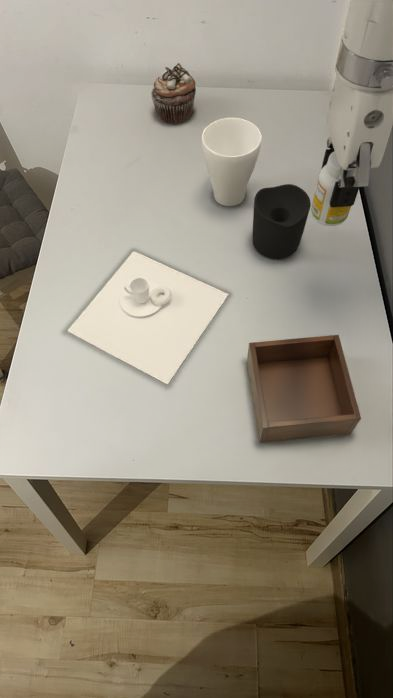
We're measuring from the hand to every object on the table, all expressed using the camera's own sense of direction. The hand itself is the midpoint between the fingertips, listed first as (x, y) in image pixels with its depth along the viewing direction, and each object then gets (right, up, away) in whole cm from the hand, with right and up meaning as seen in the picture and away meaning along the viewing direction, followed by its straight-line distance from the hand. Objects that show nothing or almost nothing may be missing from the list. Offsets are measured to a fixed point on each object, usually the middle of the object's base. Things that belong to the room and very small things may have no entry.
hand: (336, 188), depth 69 cm
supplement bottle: (0, -2, +4) cm, 5 cm away
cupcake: (-24, +31, +43) cm, 58 cm away
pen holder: (-5, -3, +24) cm, 24 cm away
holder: (-4, -30, +8) cm, 31 cm away
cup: (-13, +8, +30) cm, 33 cm away
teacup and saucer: (-27, -16, +17) cm, 36 cm away
